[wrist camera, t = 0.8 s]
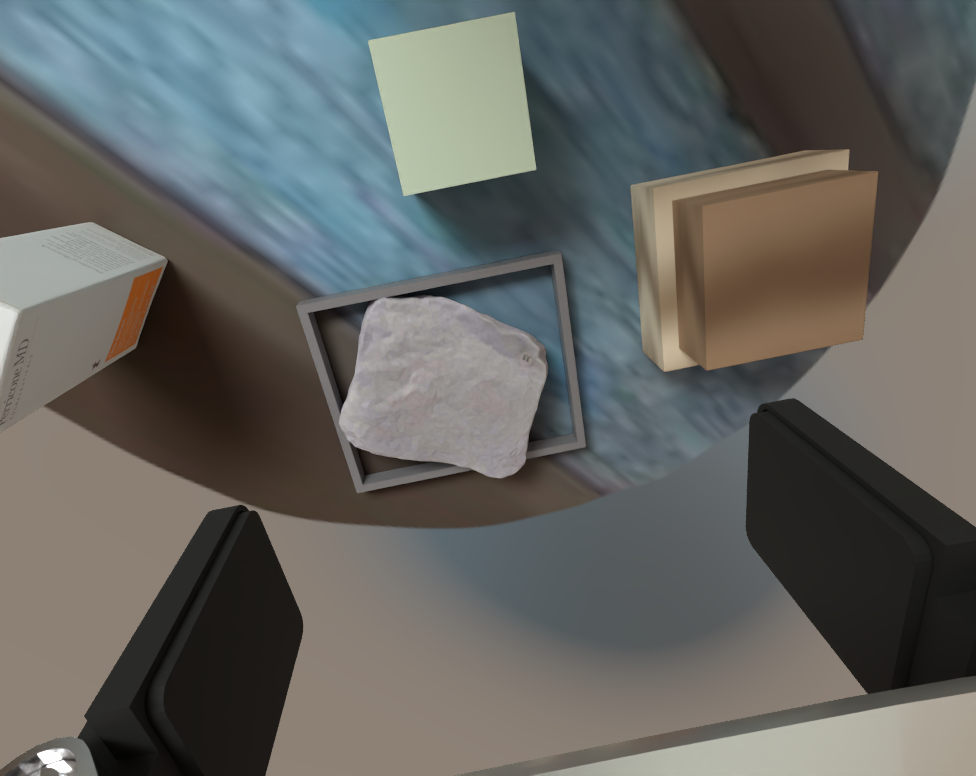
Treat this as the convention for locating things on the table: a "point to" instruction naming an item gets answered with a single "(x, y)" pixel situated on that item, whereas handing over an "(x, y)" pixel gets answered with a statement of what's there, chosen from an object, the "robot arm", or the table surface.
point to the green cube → (455, 103)
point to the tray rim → (427, 282)
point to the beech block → (658, 237)
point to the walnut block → (773, 266)
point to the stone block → (443, 385)
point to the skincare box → (68, 310)
